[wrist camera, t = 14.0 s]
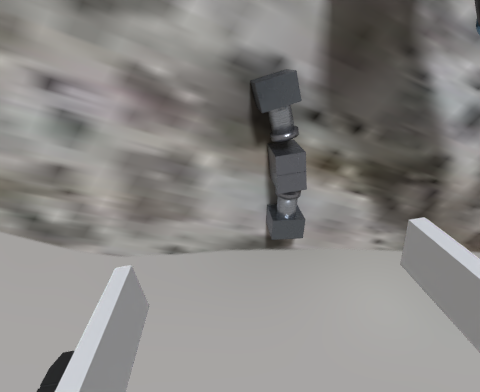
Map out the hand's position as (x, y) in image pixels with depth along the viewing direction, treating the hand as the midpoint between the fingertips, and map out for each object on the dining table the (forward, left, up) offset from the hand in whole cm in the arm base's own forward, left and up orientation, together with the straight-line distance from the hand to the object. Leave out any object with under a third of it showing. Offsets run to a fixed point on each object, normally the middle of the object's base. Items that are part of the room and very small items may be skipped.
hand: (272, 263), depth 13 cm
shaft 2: (+13, +6, -29) cm, 32 cm away
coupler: (+6, +6, -29) cm, 30 cm away
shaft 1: (-2, +6, -29) cm, 29 cm away
